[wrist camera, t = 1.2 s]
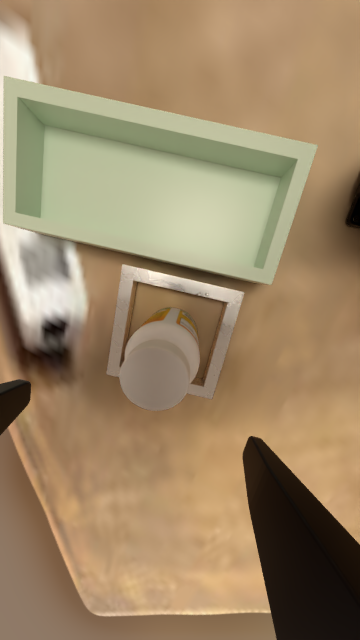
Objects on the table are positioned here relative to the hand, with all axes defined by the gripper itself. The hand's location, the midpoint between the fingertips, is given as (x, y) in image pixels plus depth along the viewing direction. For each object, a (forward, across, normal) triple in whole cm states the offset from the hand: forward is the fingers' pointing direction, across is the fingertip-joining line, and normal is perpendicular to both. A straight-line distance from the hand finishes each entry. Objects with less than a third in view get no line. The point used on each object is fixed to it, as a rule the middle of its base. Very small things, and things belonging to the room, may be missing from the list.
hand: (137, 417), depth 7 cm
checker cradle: (+13, 0, 0) cm, 13 cm away
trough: (+13, +4, -11) cm, 17 cm away
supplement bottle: (+13, 0, 0) cm, 13 cm away
